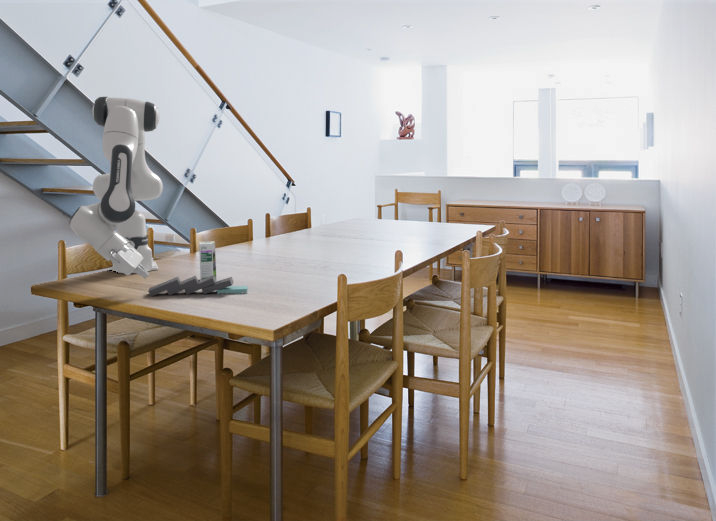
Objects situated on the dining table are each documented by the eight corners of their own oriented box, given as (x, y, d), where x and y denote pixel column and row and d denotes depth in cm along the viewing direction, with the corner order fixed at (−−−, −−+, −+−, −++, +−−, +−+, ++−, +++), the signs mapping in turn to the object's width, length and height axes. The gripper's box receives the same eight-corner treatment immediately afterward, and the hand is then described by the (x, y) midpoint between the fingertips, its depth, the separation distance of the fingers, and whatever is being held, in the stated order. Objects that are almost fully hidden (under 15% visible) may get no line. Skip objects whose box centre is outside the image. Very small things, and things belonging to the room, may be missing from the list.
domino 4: (201, 288, 193) (229, 280, 193) (203, 285, 198) (231, 276, 198) (203, 294, 193) (231, 285, 194) (205, 290, 198) (233, 282, 199)
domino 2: (166, 290, 191) (195, 278, 192) (167, 287, 195) (195, 275, 197) (169, 295, 191) (197, 283, 193) (170, 292, 196) (197, 280, 198)
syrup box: (200, 282, 212) (199, 243, 209) (200, 278, 217) (199, 241, 215) (216, 281, 213) (215, 243, 211) (215, 278, 219) (214, 240, 216)
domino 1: (148, 291, 189) (177, 279, 191) (149, 287, 194) (178, 276, 196) (150, 296, 190) (179, 285, 191) (152, 293, 195) (180, 281, 196)
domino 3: (184, 289, 192) (212, 278, 193) (187, 286, 197) (214, 275, 198) (187, 294, 193) (214, 283, 193) (189, 291, 198) (216, 280, 198)
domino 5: (217, 289, 194) (247, 288, 196) (218, 286, 199) (247, 285, 201) (217, 295, 194) (247, 294, 196) (218, 292, 199) (247, 291, 201)
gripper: (115, 245, 177) (150, 275, 181) (126, 236, 197) (157, 263, 201) (100, 260, 177) (136, 290, 181) (113, 250, 197) (144, 276, 200)
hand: (147, 276), depth 191 cm, fingers closed
